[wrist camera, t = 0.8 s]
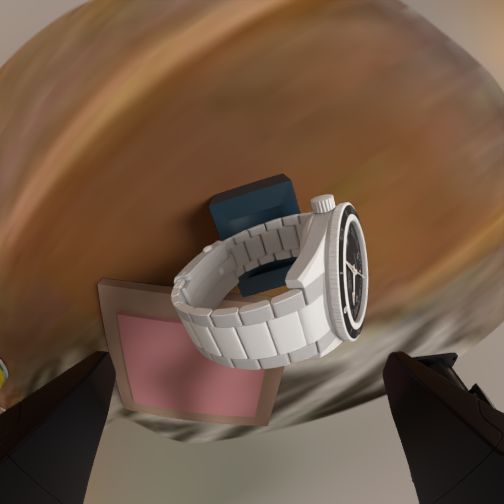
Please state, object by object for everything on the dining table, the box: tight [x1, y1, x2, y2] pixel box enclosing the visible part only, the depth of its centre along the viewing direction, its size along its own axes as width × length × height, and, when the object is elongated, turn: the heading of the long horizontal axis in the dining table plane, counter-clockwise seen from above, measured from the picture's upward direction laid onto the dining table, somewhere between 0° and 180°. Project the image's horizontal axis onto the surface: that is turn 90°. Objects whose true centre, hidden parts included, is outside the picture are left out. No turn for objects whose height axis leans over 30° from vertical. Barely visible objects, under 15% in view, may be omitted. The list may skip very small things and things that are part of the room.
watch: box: [171, 174, 368, 370], centre depth 13 cm, size 6×8×11 cm
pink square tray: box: [98, 278, 284, 426], centre depth 22 cm, size 14×14×1 cm
